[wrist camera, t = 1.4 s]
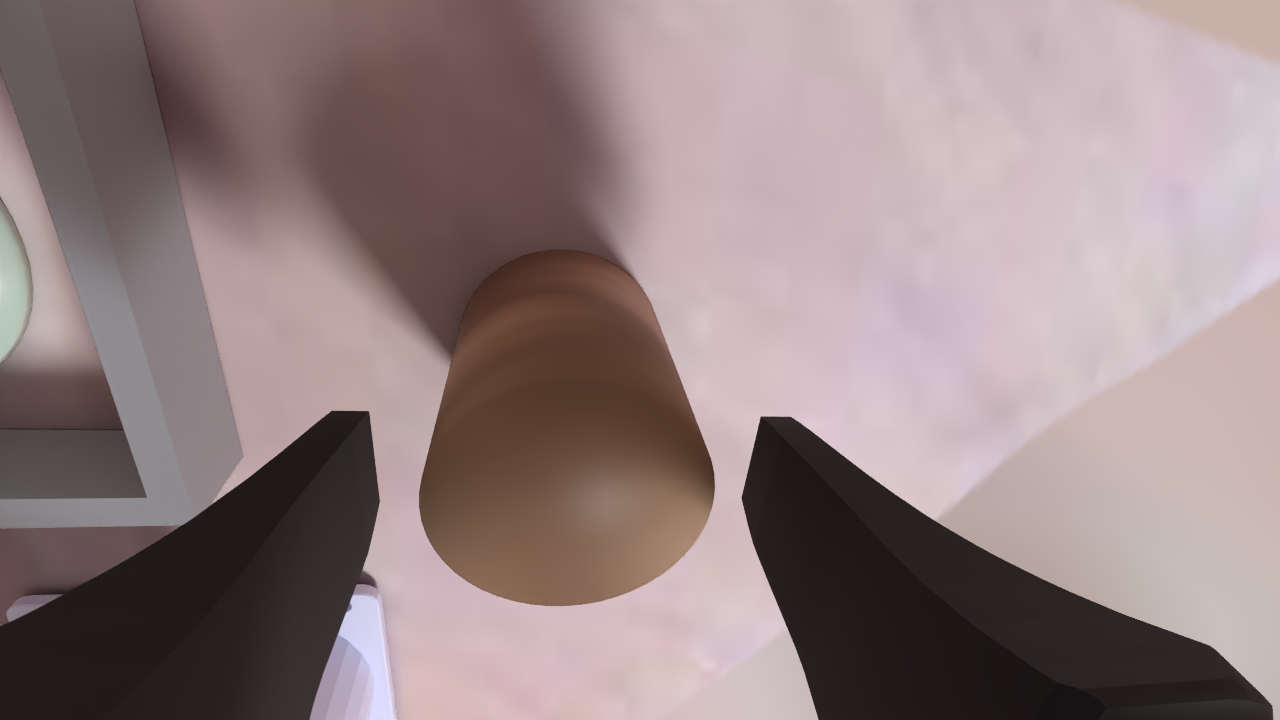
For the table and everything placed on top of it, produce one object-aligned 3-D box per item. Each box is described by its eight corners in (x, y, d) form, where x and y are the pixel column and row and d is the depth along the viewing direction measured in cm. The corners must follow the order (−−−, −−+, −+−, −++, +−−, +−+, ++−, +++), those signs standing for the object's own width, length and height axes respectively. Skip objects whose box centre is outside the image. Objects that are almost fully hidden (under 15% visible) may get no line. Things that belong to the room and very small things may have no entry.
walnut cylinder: (462, 425, 17) (427, 612, 11) (456, 243, 14) (409, 375, 9) (647, 426, 17) (692, 601, 12) (670, 255, 15) (737, 381, 10)
